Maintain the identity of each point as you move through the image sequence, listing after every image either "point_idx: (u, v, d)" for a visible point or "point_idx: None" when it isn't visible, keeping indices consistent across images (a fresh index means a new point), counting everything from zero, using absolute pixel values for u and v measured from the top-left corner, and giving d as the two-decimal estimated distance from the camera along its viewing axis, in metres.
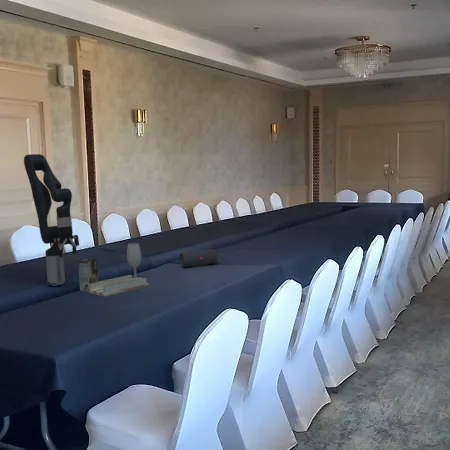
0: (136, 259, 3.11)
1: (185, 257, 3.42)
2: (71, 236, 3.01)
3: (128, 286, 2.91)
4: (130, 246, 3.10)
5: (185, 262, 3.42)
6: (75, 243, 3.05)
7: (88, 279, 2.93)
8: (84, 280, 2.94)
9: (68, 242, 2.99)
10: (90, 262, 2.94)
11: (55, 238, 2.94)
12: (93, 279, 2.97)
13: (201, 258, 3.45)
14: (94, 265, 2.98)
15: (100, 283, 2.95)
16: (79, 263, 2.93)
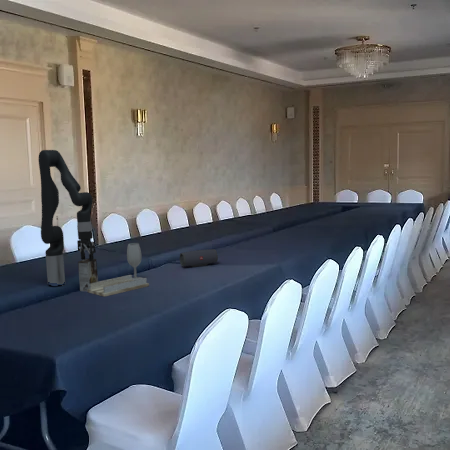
0: (136, 259, 3.11)
1: (185, 257, 3.42)
2: None
3: (128, 286, 2.91)
4: (130, 246, 3.10)
5: (185, 262, 3.42)
6: None
7: (88, 279, 2.93)
8: (84, 281, 2.94)
9: None
10: (90, 262, 2.94)
11: None
12: (93, 280, 2.97)
13: (201, 258, 3.45)
14: (94, 265, 2.98)
15: (100, 283, 2.95)
16: (79, 263, 2.93)
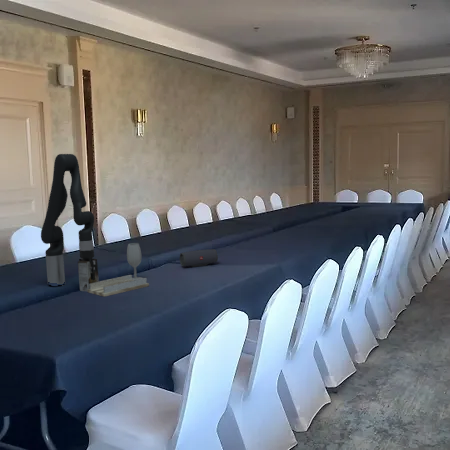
0: (136, 259, 3.11)
1: (185, 257, 3.42)
2: None
3: (128, 286, 2.91)
4: (130, 246, 3.10)
5: (185, 262, 3.42)
6: None
7: (87, 279, 2.93)
8: (83, 280, 2.94)
9: None
10: (89, 262, 2.93)
11: None
12: (93, 280, 2.96)
13: (201, 258, 3.45)
14: None
15: (100, 283, 2.95)
16: (79, 263, 2.93)
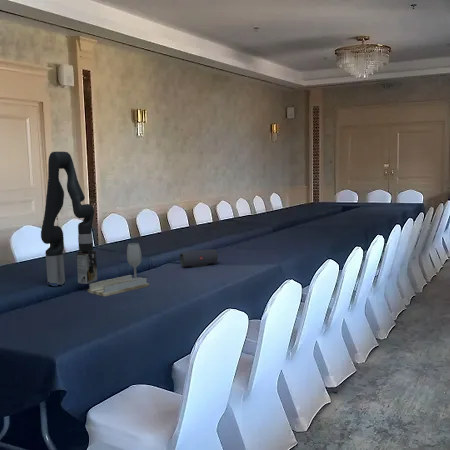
0: (136, 259, 3.11)
1: (185, 257, 3.42)
2: None
3: (128, 286, 2.91)
4: (130, 246, 3.10)
5: (185, 262, 3.42)
6: None
7: (85, 272, 2.92)
8: (81, 273, 2.93)
9: None
10: None
11: (93, 254, 2.92)
12: None
13: (201, 258, 3.45)
14: None
15: (100, 283, 2.95)
16: (77, 255, 2.93)
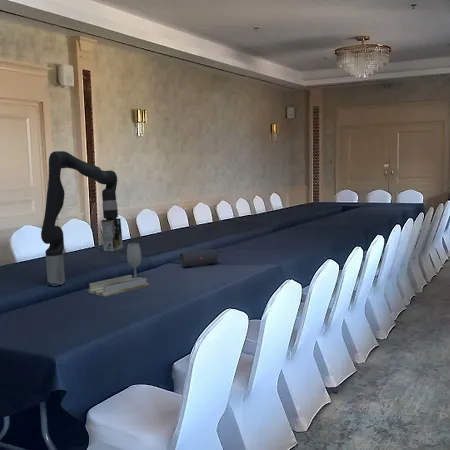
0: (136, 259, 3.11)
1: (185, 257, 3.42)
2: None
3: (128, 286, 2.91)
4: (130, 246, 3.10)
5: (185, 262, 3.42)
6: None
7: (111, 238, 2.88)
8: (107, 240, 2.89)
9: None
10: None
11: (118, 220, 2.87)
12: None
13: (201, 258, 3.45)
14: None
15: (100, 283, 2.95)
16: (102, 222, 2.88)
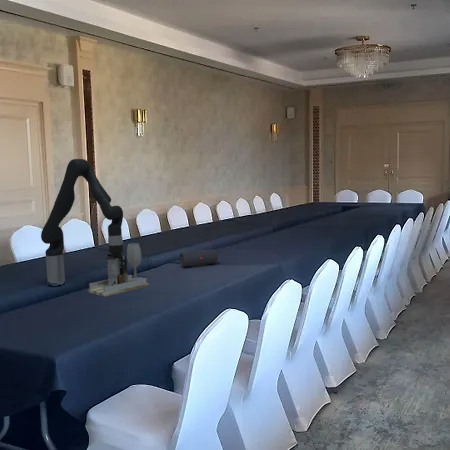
0: (136, 259, 3.11)
1: (185, 257, 3.42)
2: None
3: (128, 286, 2.91)
4: (130, 246, 3.10)
5: (185, 262, 3.42)
6: None
7: (115, 276, 2.90)
8: (112, 277, 2.91)
9: None
10: (118, 259, 2.91)
11: (124, 255, 2.89)
12: (122, 277, 2.94)
13: (201, 258, 3.45)
14: None
15: (100, 283, 2.95)
16: (108, 259, 2.91)
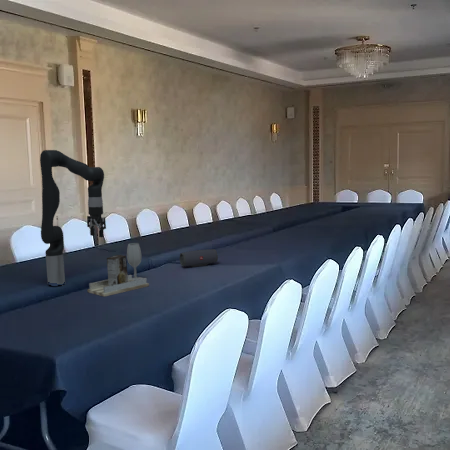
0: (136, 259, 3.11)
1: (185, 257, 3.42)
2: None
3: (128, 286, 2.91)
4: (130, 246, 3.10)
5: (185, 262, 3.42)
6: (88, 224, 2.95)
7: (115, 276, 2.90)
8: (112, 277, 2.91)
9: None
10: (118, 259, 2.91)
11: None
12: (122, 277, 2.94)
13: (201, 258, 3.45)
14: (123, 262, 2.94)
15: (100, 283, 2.95)
16: (108, 260, 2.91)
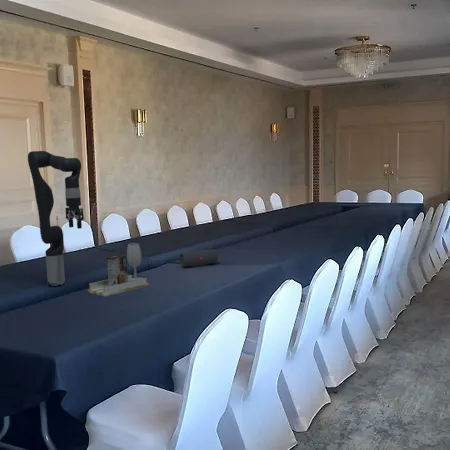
0: (136, 259, 3.11)
1: (185, 257, 3.42)
2: None
3: (128, 286, 2.91)
4: (130, 246, 3.10)
5: (185, 262, 3.42)
6: (67, 216, 2.93)
7: (115, 276, 2.90)
8: (112, 277, 2.91)
9: None
10: (118, 259, 2.91)
11: (81, 208, 2.84)
12: (122, 277, 2.94)
13: (201, 258, 3.45)
14: (123, 262, 2.94)
15: (100, 283, 2.95)
16: (108, 260, 2.91)
